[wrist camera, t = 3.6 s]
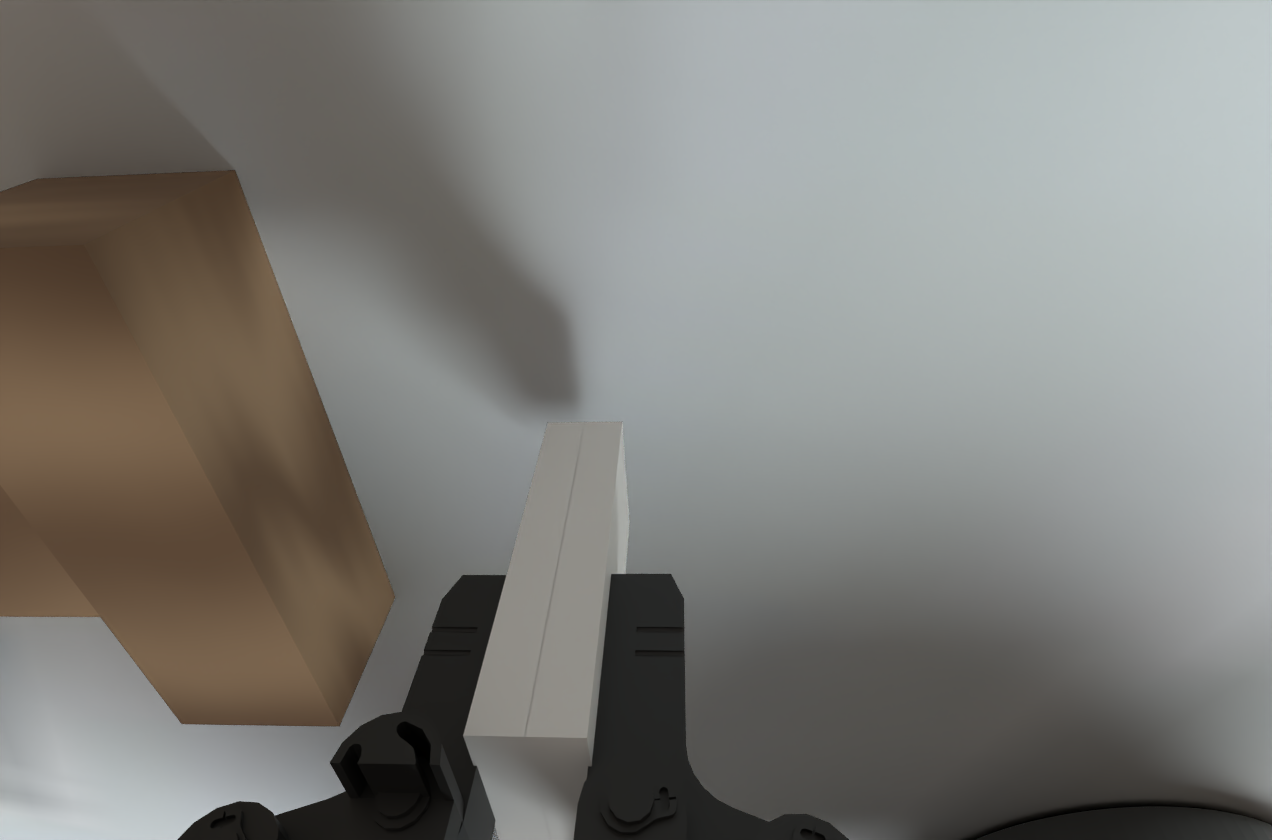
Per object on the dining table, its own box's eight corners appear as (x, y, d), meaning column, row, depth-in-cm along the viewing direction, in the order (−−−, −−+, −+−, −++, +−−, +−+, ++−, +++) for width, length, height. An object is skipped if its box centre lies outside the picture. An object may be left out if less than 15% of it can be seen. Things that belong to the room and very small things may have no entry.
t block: (395, 596, 20) (339, 726, 16) (9, 596, 20) (-118, 719, 17) (235, 170, 13) (84, 245, 10) (-333, 195, 14) (-653, 272, 10)
